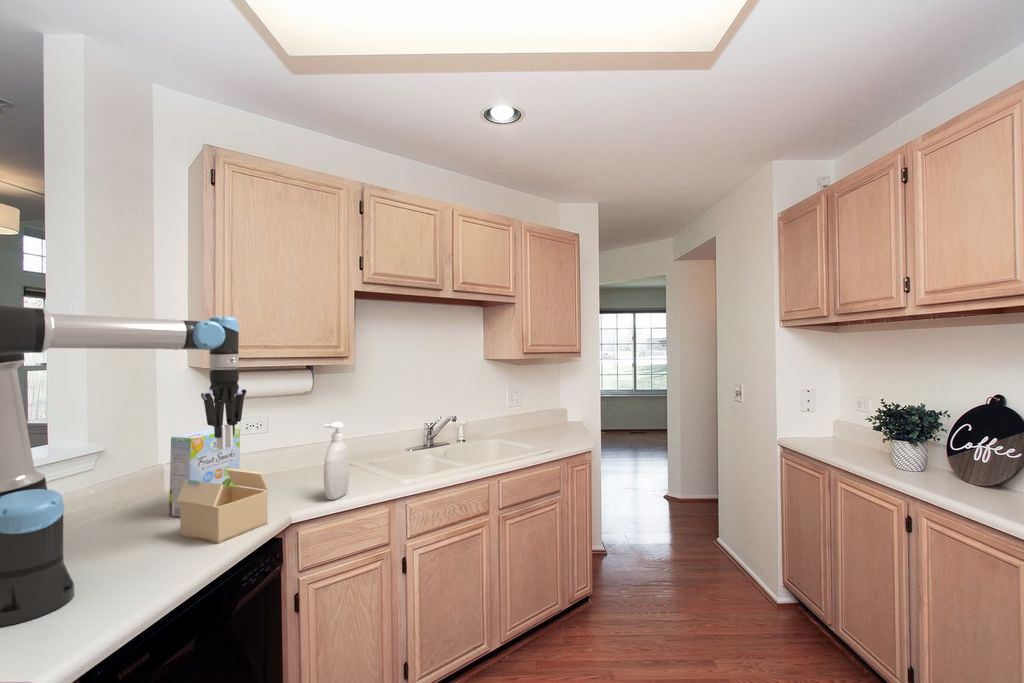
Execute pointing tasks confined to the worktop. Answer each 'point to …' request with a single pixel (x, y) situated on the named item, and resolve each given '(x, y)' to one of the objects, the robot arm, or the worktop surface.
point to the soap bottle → (336, 465)
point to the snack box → (200, 462)
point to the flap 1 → (200, 492)
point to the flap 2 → (247, 478)
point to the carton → (224, 515)
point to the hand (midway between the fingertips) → (224, 447)
